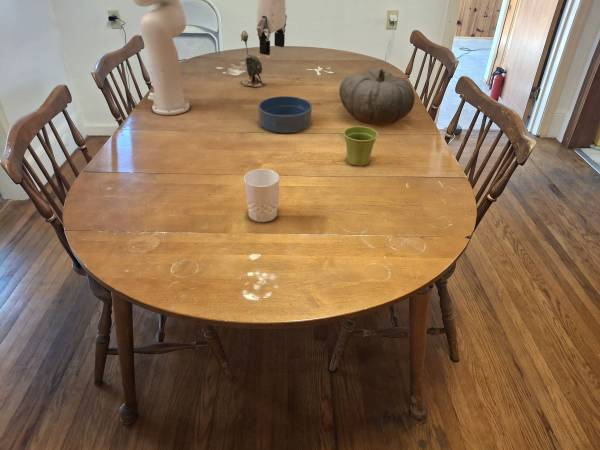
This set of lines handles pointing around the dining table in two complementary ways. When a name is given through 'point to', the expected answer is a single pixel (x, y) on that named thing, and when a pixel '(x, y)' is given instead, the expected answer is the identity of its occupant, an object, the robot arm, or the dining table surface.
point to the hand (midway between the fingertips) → (272, 50)
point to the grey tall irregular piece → (252, 66)
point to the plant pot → (359, 144)
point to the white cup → (262, 194)
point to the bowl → (285, 114)
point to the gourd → (377, 97)
